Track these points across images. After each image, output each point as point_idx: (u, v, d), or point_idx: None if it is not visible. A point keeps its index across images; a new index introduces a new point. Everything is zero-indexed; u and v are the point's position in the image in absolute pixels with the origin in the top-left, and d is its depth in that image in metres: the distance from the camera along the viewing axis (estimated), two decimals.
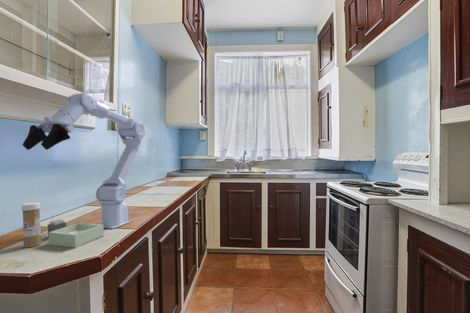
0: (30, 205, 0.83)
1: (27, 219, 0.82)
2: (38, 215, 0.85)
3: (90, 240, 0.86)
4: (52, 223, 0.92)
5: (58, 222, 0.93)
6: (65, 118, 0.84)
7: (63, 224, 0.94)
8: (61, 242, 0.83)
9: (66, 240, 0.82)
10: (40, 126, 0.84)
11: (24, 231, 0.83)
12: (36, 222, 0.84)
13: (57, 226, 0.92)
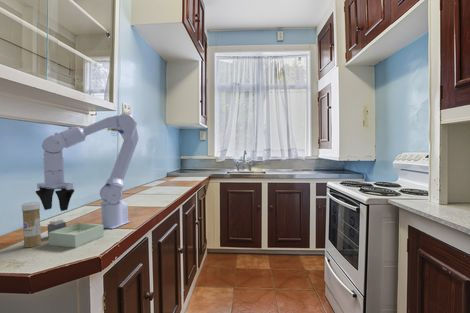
0: (30, 205, 0.83)
1: (27, 219, 0.82)
2: (38, 215, 0.85)
3: (90, 240, 0.86)
4: (52, 223, 0.92)
5: (58, 222, 0.93)
6: (57, 176, 0.91)
7: (63, 224, 0.94)
8: (61, 242, 0.83)
9: (66, 240, 0.82)
10: (41, 185, 0.94)
11: (24, 231, 0.83)
12: (36, 222, 0.84)
13: (57, 226, 0.92)
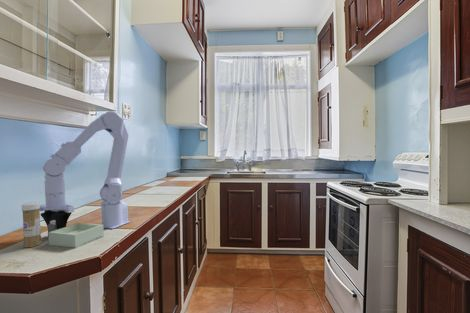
0: (30, 205, 0.83)
1: (27, 219, 0.82)
2: (38, 215, 0.85)
3: (90, 240, 0.86)
4: (52, 223, 0.92)
5: None
6: (58, 198, 0.91)
7: None
8: (61, 242, 0.83)
9: (66, 240, 0.82)
10: (42, 208, 0.94)
11: (24, 231, 0.83)
12: (36, 222, 0.84)
13: None
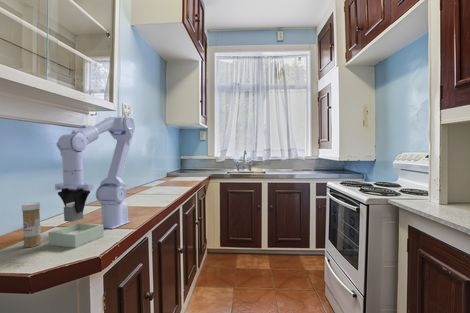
0: (30, 205, 0.83)
1: (27, 219, 0.82)
2: (38, 215, 0.85)
3: (90, 240, 0.86)
4: (68, 205, 0.86)
5: None
6: (76, 176, 0.86)
7: None
8: (61, 242, 0.83)
9: (66, 240, 0.82)
10: (59, 186, 0.88)
11: (24, 231, 0.83)
12: (36, 222, 0.84)
13: (74, 209, 0.86)
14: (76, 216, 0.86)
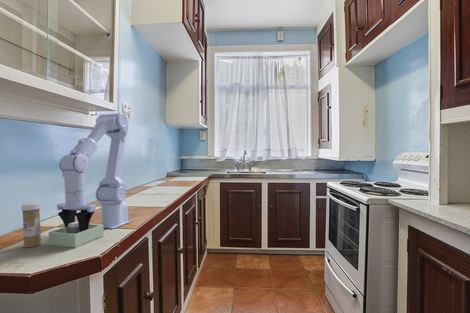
0: (30, 205, 0.83)
1: (27, 219, 0.82)
2: (38, 215, 0.85)
3: (90, 240, 0.86)
4: (71, 226, 0.86)
5: (77, 224, 0.87)
6: (78, 197, 0.86)
7: None
8: (61, 242, 0.83)
9: (66, 240, 0.82)
10: (61, 207, 0.88)
11: (24, 231, 0.83)
12: (36, 222, 0.84)
13: (76, 229, 0.86)
14: None
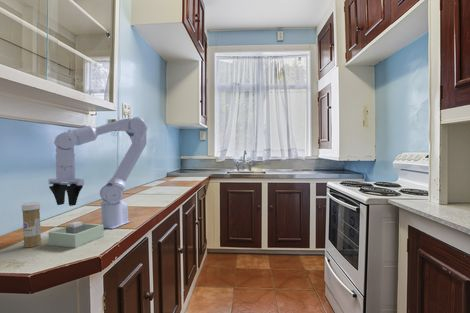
0: (30, 205, 0.83)
1: (27, 219, 0.82)
2: (38, 215, 0.85)
3: (90, 240, 0.86)
4: (71, 226, 0.86)
5: (77, 224, 0.87)
6: (68, 171, 0.93)
7: (82, 227, 0.88)
8: (61, 242, 0.83)
9: (66, 240, 0.82)
10: None
11: (24, 231, 0.83)
12: (36, 222, 0.84)
13: (76, 229, 0.86)
14: None
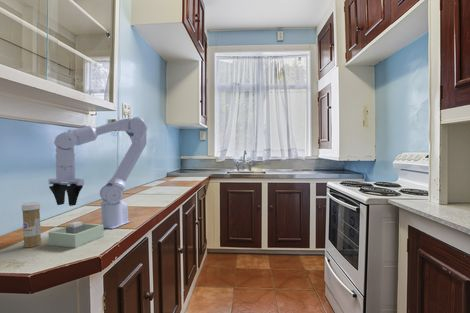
0: (30, 205, 0.83)
1: (27, 219, 0.82)
2: (38, 215, 0.85)
3: (90, 240, 0.86)
4: (71, 226, 0.86)
5: (77, 224, 0.87)
6: (68, 171, 0.93)
7: (82, 227, 0.88)
8: (61, 242, 0.83)
9: (66, 240, 0.82)
10: None
11: (24, 231, 0.83)
12: (36, 222, 0.84)
13: (76, 229, 0.86)
14: None
